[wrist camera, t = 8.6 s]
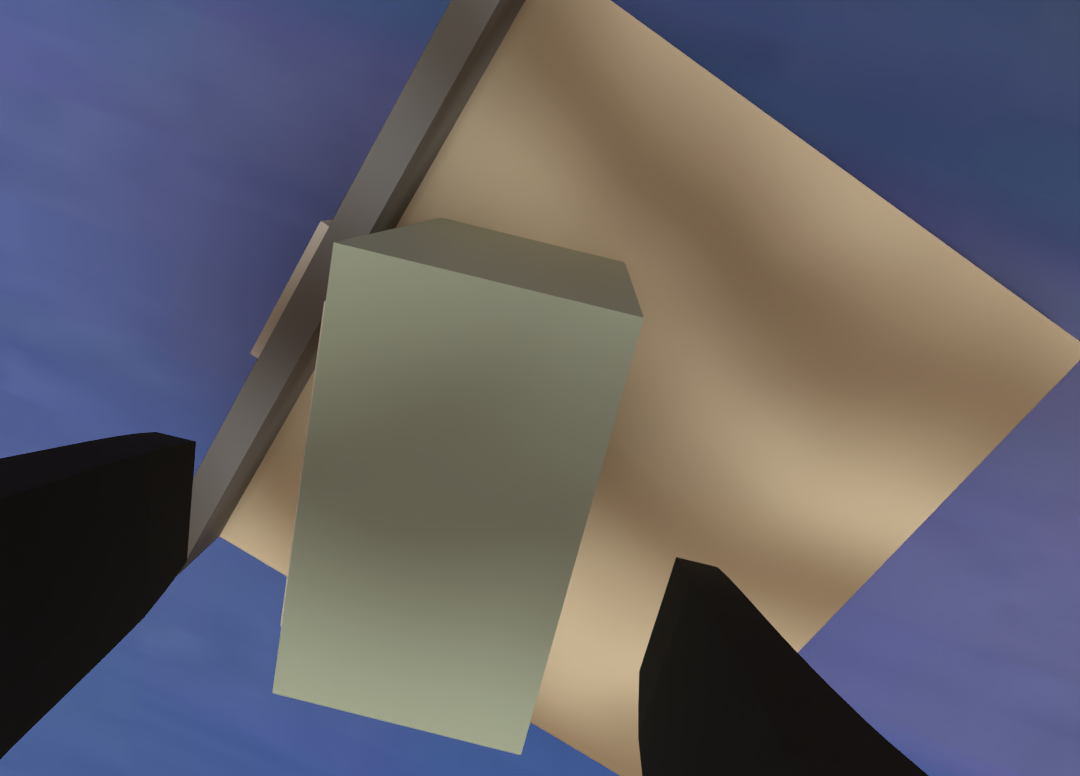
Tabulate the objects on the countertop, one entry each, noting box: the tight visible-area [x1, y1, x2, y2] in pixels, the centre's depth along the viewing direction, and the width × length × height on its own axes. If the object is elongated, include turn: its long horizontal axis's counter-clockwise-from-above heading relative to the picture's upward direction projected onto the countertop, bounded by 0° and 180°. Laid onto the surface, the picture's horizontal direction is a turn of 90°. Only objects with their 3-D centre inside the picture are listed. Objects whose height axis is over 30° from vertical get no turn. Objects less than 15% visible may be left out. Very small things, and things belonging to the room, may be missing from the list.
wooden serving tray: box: [178, 0, 1080, 776], centre depth 17 cm, size 17×16×4 cm
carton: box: [273, 218, 644, 755], centre depth 14 cm, size 5×8×7 cm, turn 167°
